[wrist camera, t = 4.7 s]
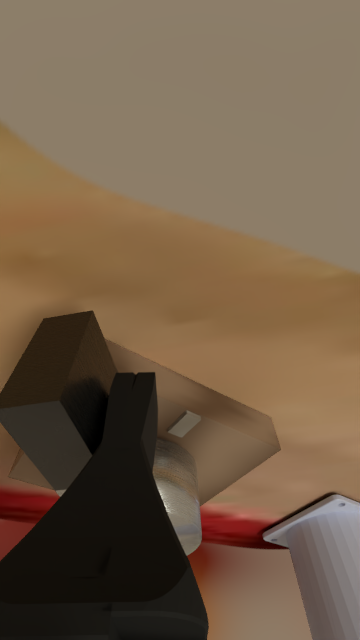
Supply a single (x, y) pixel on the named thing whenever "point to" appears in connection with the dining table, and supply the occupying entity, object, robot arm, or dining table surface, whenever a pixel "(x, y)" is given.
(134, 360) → the walnut base
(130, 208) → the dining table surface
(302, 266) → the dining table surface
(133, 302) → the dining table surface
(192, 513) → the lever handle
